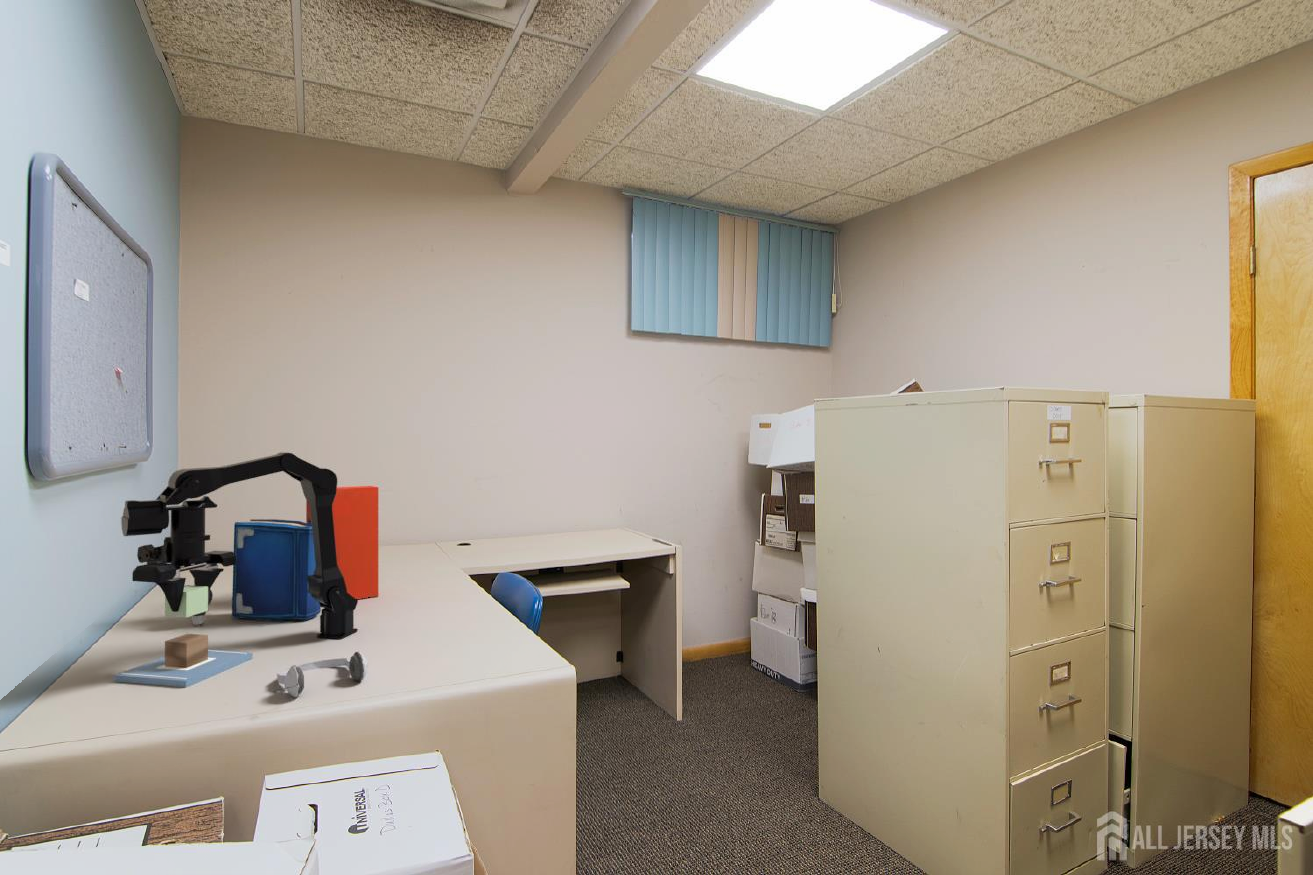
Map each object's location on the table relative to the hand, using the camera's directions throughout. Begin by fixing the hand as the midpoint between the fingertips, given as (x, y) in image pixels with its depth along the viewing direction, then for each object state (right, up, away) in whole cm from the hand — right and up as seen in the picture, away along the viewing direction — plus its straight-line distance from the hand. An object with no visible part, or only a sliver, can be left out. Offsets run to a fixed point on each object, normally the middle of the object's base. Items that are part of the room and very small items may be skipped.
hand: (187, 608), depth 132 cm
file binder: (+5, -12, +55) cm, 57 cm away
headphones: (+30, -13, -8) cm, 34 cm away
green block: (0, -1, 0) cm, 1 cm away
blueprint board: (0, -12, -1) cm, 12 cm away
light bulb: (-18, -12, +29) cm, 36 cm away
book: (-2, -12, +36) cm, 38 cm away
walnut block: (0, -11, -1) cm, 11 cm away
